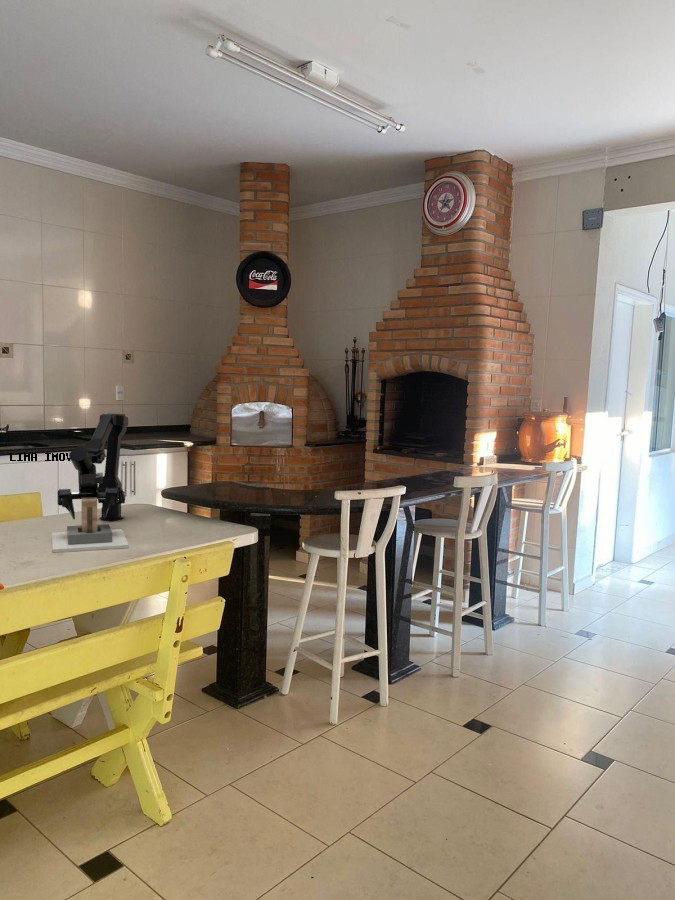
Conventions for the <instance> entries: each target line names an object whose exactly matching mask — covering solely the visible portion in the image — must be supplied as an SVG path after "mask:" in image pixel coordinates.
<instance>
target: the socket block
mask: <svg viewBox="0 0 675 900" xmlns="http://www.w3.org/2000/svg"><path fill="white" fill-rule="evenodd" d="M66 527H67V528H66V531H62V532H61V531H60V532H59V531H57V532H51V542H52V543H51V544H52V553H69V552H70V553H71V552H85V551H99V550H100V551H102V550H103V551H104V550H118V549H129V542H128V540H127V538H126V536H125V533H124V532H123V530H122V529H121V528H119V529H117V528H116V529H112V527H111V525H110V524H109V523H105V524H103V523H102V524H97V532H94V533H86V532H82V524H81V525H67V526H66Z"/></svg>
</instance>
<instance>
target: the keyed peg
mask: <svg viewBox="0 0 675 900" xmlns="http://www.w3.org/2000/svg"><path fill="white" fill-rule="evenodd" d="M81 525H82V532H86V533H94V532H97V525H98V499H97V498H96V497H92V498H82V499H81Z"/></svg>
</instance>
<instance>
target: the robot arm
mask: <svg viewBox="0 0 675 900" xmlns="http://www.w3.org/2000/svg"><path fill="white" fill-rule="evenodd" d="M98 420H99V421H98V423H97V425H96V428H95V431H94V432H93V435H92V437H91V439H90V440H89V441H87V442H86V443H84V444H78V446H77V447H76V448H73V449H72V450H71V451H70V452H69V454H68V457H69V460H70V462H71V463H72V465H73V467H74V469H75V470H76V471H77V474H78V476H77V477H78V492H71V491H72V489H71V488H63V489H62V488H59V489H58V490H57V505H58V506H61V507H62V508H65V509H66V510H67V511H68V513H69V514H70V516H71V518H72V520H74V521H75V519H76V514H75V507H74V502H73V501H74V500H82V498H92V497H96V498H97V504H101V505H102V506H101V516H100V517H98V518H99V520H104V521H108V522H109V521H110V522H114V521H118V520H122V519H124V518H125V517H124V516H122V504H125V503H126V495H125V492H124V490H123V488H122V481H121V480H120V478H119V469H120V468H119V467H120V455H121V446H122V445H121V443H122V438H123V436H124V435H125V434H126V432H127V429H128V425H129V417H127V416H126V414H125V413H102V414H100V416H99V419H98ZM106 444H107V445H106ZM105 445H106V451H105ZM104 461H105V464H104V465H105V466H104V467H105V468H104V473H103V472H97V466H96V464H97V465H101V464H102V463H103V462H104Z"/></svg>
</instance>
